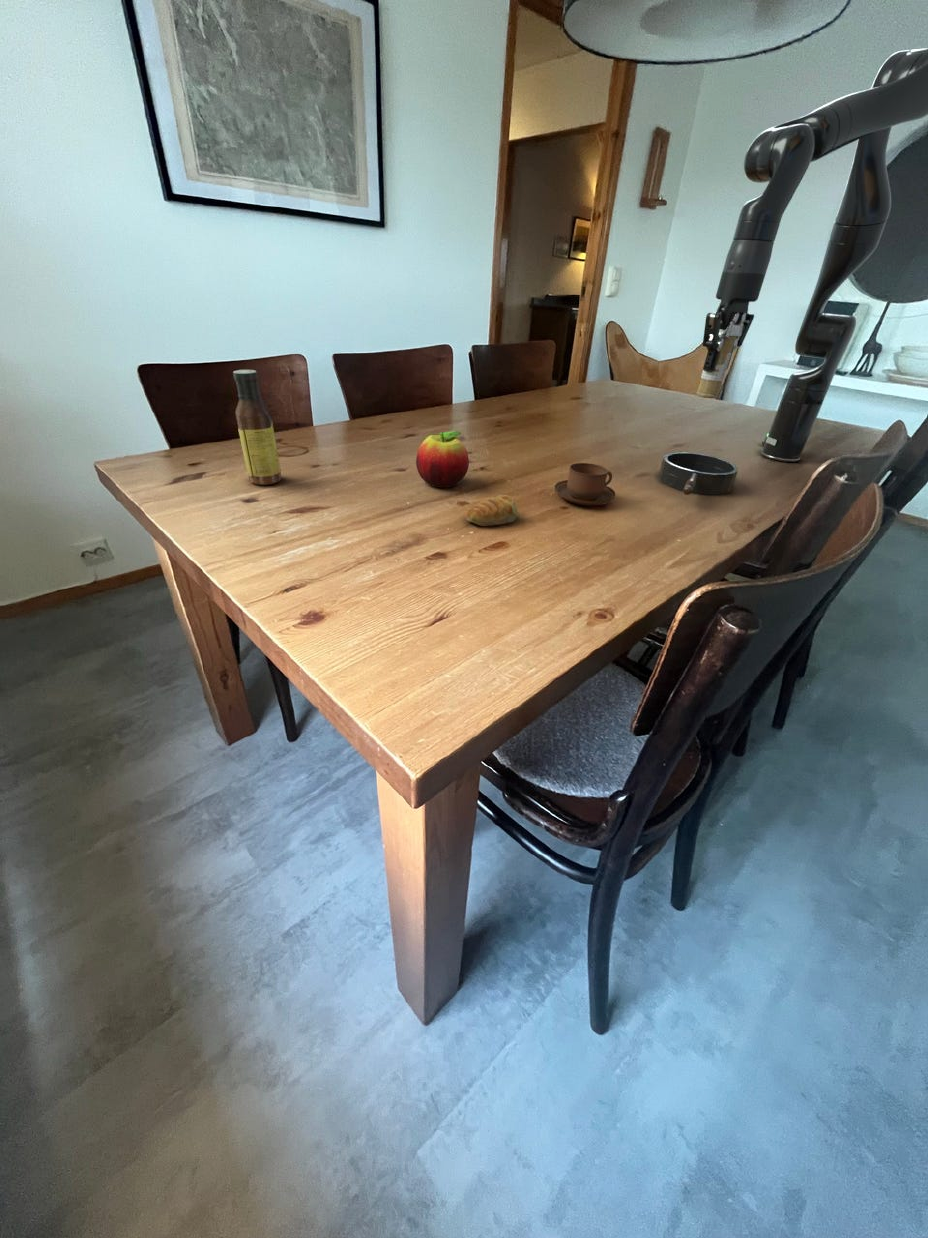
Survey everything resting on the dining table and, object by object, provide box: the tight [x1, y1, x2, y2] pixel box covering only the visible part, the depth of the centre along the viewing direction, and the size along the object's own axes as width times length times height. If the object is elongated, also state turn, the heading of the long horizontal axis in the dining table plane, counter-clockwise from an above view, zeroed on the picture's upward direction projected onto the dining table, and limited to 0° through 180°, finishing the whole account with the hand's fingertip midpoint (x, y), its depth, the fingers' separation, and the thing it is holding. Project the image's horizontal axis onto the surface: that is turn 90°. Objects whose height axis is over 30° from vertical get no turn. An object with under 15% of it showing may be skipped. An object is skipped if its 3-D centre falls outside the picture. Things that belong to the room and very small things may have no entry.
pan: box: [658, 451, 739, 496], centre depth 117 cm, size 16×16×4 cm
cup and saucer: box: [554, 462, 616, 506], centre depth 104 cm, size 12×12×6 cm
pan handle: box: [682, 473, 699, 496], centre depth 106 cm, size 11×2×2 cm, turn 153°
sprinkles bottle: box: [696, 324, 740, 399], centre depth 107 cm, size 5×5×14 cm
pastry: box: [465, 494, 520, 527], centre depth 93 cm, size 9×7×4 cm
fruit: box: [415, 430, 470, 488], centre depth 106 cm, size 11×11×10 cm
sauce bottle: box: [232, 369, 282, 486], centre depth 98 cm, size 7×6×20 cm
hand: (715, 370), depth 108 cm, fingers closed on sprinkles bottle, 4 cm apart
